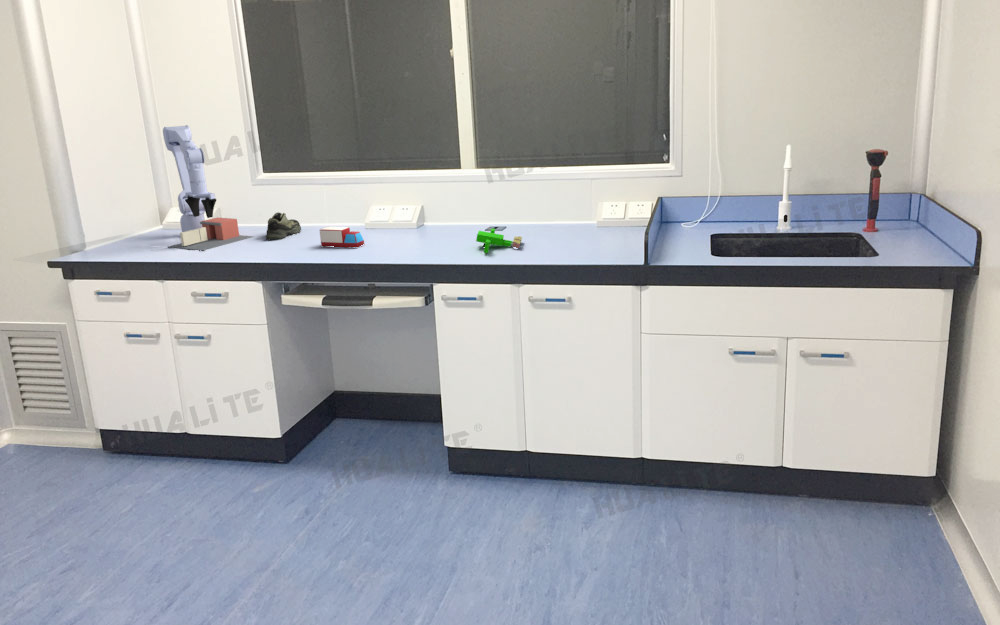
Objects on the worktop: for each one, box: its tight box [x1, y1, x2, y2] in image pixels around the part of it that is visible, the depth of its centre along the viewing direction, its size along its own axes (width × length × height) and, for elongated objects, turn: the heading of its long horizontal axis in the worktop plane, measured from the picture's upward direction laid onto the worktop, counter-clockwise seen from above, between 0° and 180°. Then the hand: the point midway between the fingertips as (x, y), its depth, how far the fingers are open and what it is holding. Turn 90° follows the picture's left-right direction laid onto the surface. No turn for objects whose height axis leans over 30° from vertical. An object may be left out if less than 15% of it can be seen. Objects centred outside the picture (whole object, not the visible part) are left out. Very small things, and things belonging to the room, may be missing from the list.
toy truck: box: [319, 226, 365, 248], centre depth 296 cm, size 6×15×7 cm, turn 69°
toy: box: [475, 228, 523, 254], centre depth 281 cm, size 22×5×15 cm
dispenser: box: [200, 216, 240, 240], centre depth 321 cm, size 11×9×7 cm
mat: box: [167, 234, 255, 252], centre depth 315 cm, size 20×25×1 cm
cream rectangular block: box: [179, 227, 208, 246], centre depth 311 cm, size 2×11×5 cm, turn 150°
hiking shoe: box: [265, 211, 302, 241], centre depth 321 cm, size 8×21×9 cm, turn 169°
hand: (203, 216), depth 313 cm, fingers open, 7 cm apart
